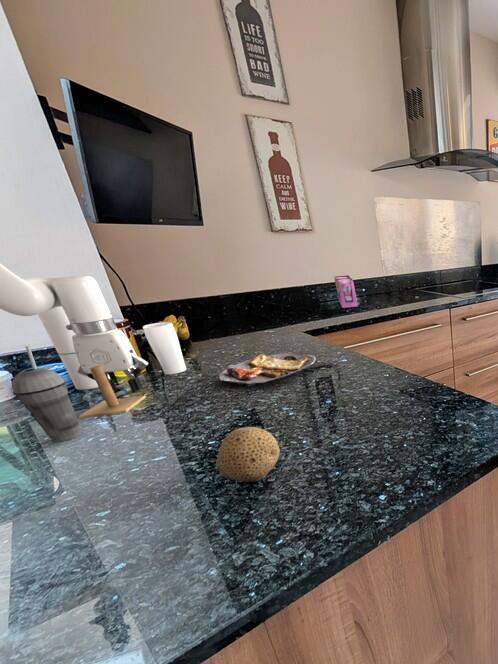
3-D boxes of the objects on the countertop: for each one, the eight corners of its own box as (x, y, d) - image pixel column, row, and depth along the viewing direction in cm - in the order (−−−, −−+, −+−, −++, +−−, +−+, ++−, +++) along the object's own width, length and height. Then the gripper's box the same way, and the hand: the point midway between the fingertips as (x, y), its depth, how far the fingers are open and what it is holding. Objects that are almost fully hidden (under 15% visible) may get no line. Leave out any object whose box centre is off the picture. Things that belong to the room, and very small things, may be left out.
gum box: (358, 306, 203) (353, 280, 198) (342, 308, 200) (336, 281, 195) (353, 299, 223) (348, 275, 218) (338, 301, 220) (333, 276, 214)
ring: (74, 406, 99) (72, 401, 98) (97, 392, 107) (95, 387, 106) (119, 400, 101) (116, 395, 101) (138, 387, 109) (136, 382, 109)
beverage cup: (44, 437, 84) (-8, 348, 76) (91, 424, 89) (47, 340, 81) (40, 449, 80) (-15, 356, 72) (90, 436, 84) (43, 347, 76)
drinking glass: (156, 376, 117) (135, 327, 111) (178, 368, 123) (160, 321, 117) (173, 377, 115) (154, 328, 109) (195, 369, 121) (178, 322, 115)
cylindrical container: (113, 379, 115) (73, 294, 105) (111, 386, 110) (68, 297, 100) (79, 386, 111) (34, 297, 101) (75, 394, 106) (27, 301, 96)
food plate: (201, 384, 110) (196, 372, 109) (270, 357, 130) (267, 347, 129) (270, 392, 103) (266, 380, 102) (332, 363, 123) (329, 352, 122)
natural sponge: (295, 478, 68) (280, 428, 64) (236, 505, 62) (216, 452, 58) (276, 459, 74) (261, 412, 70) (220, 482, 67) (200, 432, 64)
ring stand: (80, 420, 91) (57, 376, 87) (104, 404, 99) (84, 363, 94) (127, 414, 93) (107, 370, 89) (147, 399, 101) (129, 358, 97)
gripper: (40, 334, 92) (76, 404, 99) (127, 327, 97) (156, 394, 104) (63, 327, 99) (95, 392, 106) (143, 320, 103) (169, 383, 110)
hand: (125, 392), depth 105 cm, fingers open, 4 cm apart
